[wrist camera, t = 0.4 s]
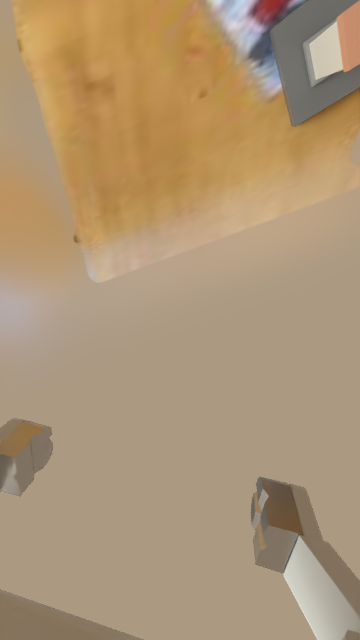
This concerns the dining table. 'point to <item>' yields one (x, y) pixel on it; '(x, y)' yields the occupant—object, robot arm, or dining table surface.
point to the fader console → (288, 49)
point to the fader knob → (334, 46)
